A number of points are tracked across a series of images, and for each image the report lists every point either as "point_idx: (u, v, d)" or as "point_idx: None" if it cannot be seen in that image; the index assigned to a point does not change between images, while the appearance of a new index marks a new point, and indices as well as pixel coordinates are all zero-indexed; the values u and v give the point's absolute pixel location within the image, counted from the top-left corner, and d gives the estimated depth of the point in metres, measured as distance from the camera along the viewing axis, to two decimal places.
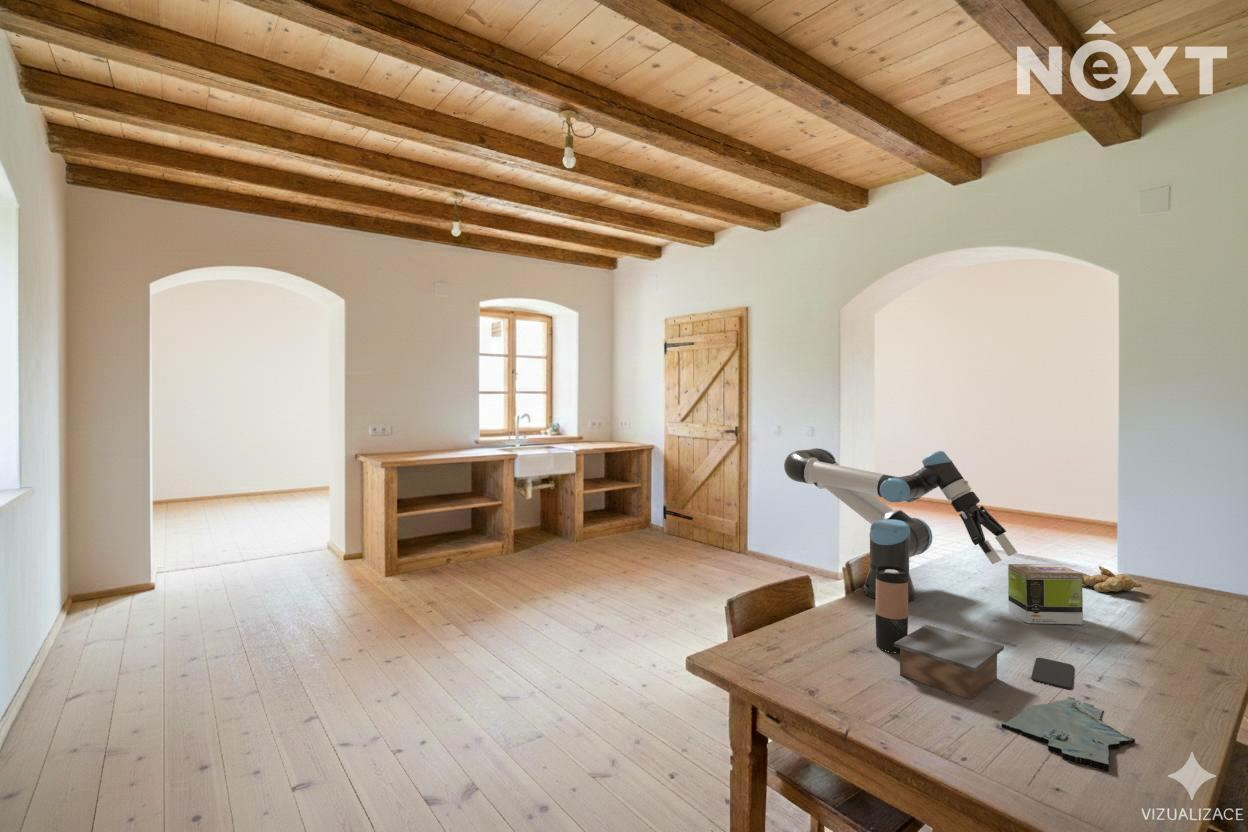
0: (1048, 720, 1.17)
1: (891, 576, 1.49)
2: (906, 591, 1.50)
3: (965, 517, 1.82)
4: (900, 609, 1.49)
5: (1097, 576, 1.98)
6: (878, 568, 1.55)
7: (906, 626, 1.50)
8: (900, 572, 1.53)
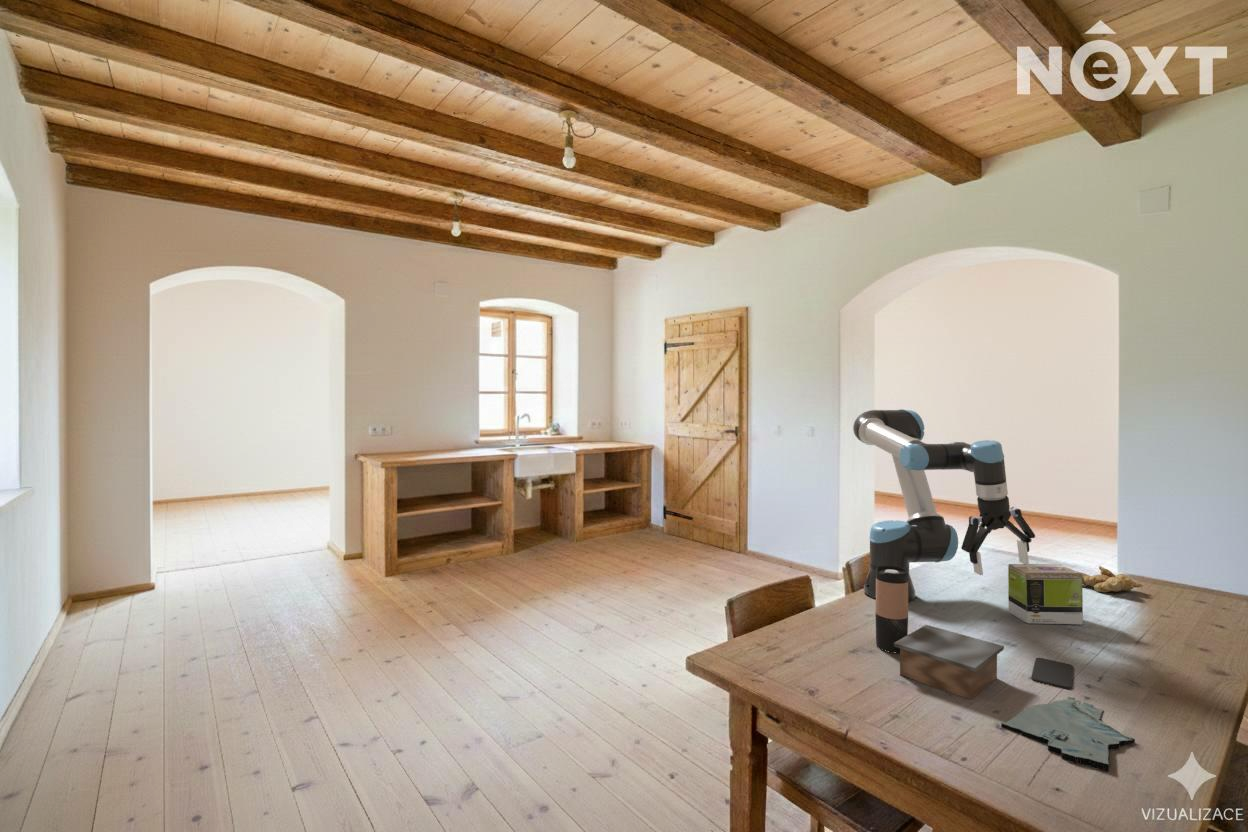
0: (1048, 720, 1.17)
1: (891, 576, 1.49)
2: (906, 591, 1.50)
3: (971, 523, 1.68)
4: (900, 609, 1.49)
5: (1097, 576, 1.98)
6: (878, 568, 1.55)
7: (906, 626, 1.50)
8: (900, 572, 1.53)
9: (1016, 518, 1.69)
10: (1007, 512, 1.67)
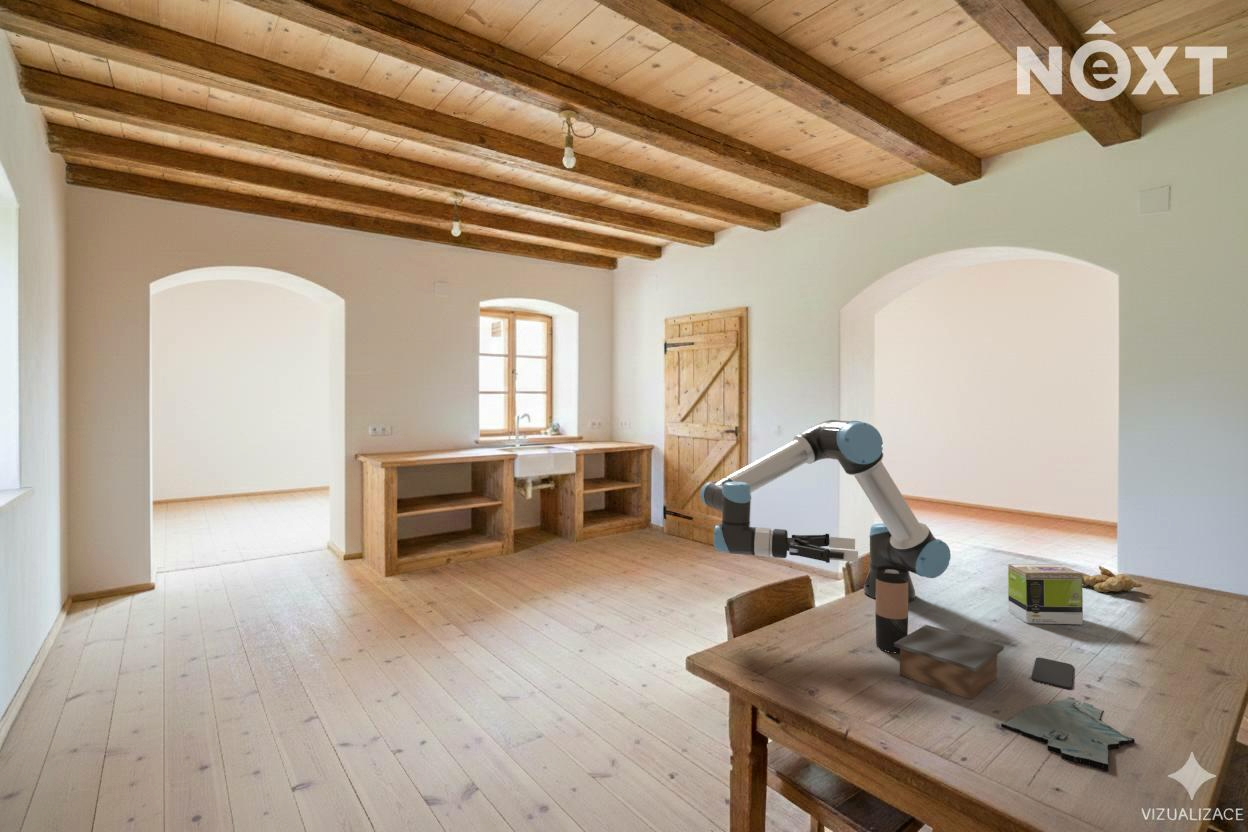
0: (1048, 720, 1.17)
1: (891, 576, 1.49)
2: (906, 591, 1.50)
3: None
4: (900, 609, 1.49)
5: (1097, 576, 1.98)
6: (878, 568, 1.55)
7: (906, 626, 1.50)
8: (900, 572, 1.53)
9: None
10: None
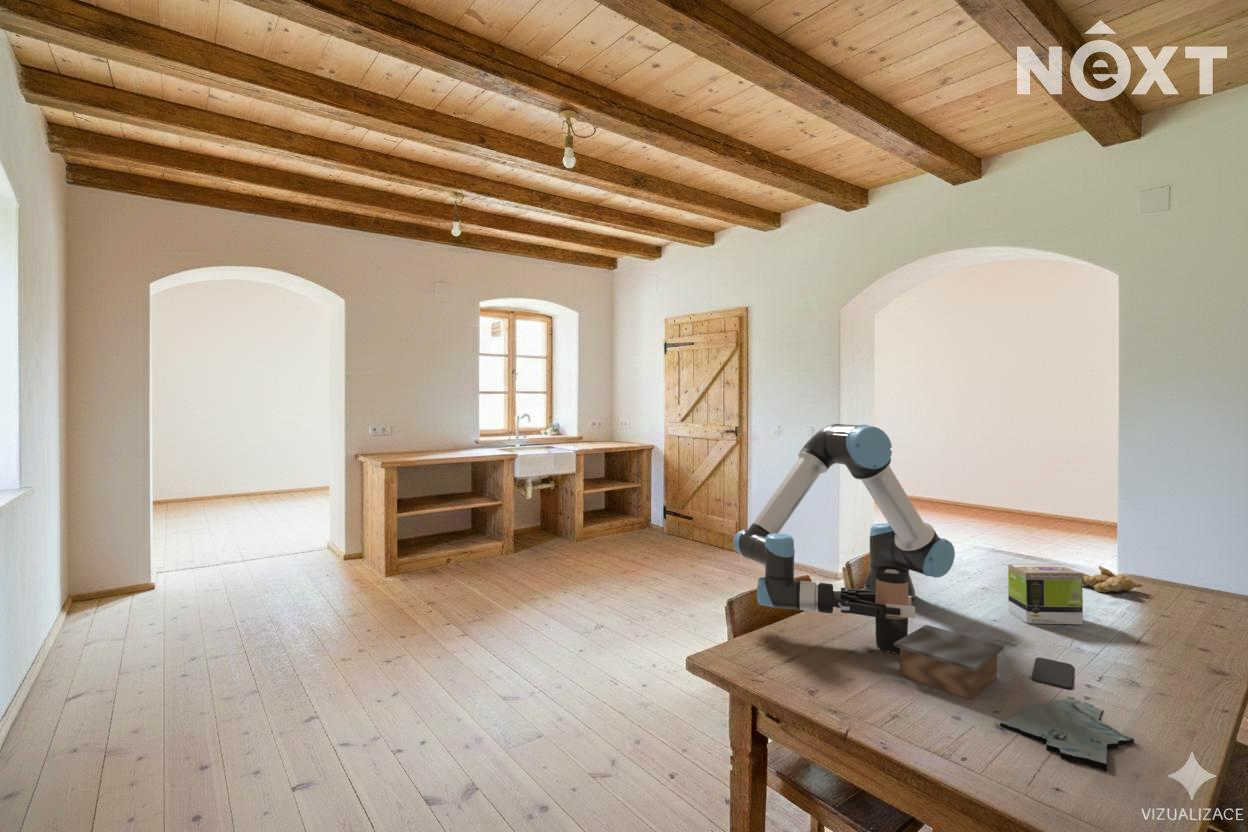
0: (1047, 720, 1.17)
1: (891, 576, 1.49)
2: (906, 591, 1.50)
3: None
4: None
5: (1097, 576, 1.98)
6: (878, 568, 1.55)
7: (906, 626, 1.50)
8: (900, 572, 1.53)
9: None
10: None
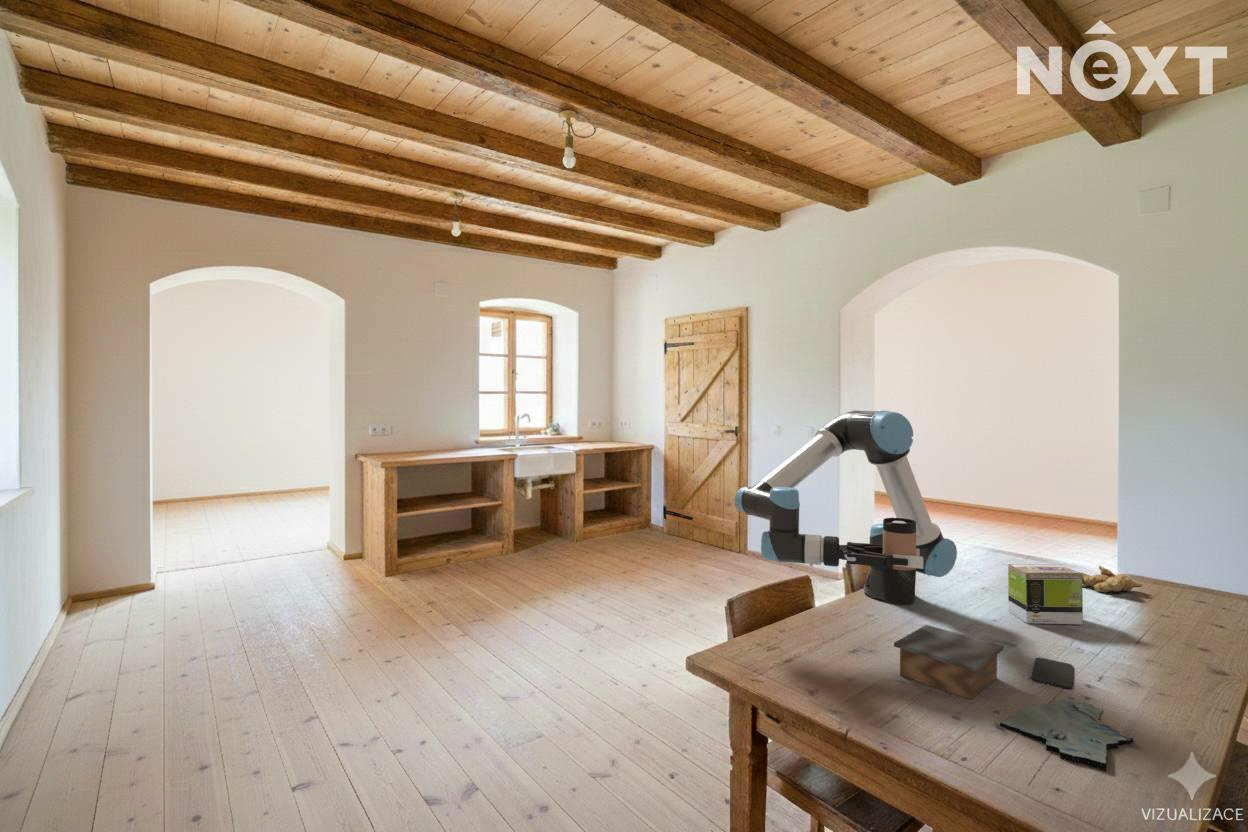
0: (1047, 720, 1.17)
1: (898, 526, 1.46)
2: (914, 542, 1.46)
3: None
4: None
5: (1097, 576, 1.98)
6: (885, 520, 1.52)
7: (914, 578, 1.47)
8: (908, 523, 1.50)
9: None
10: None
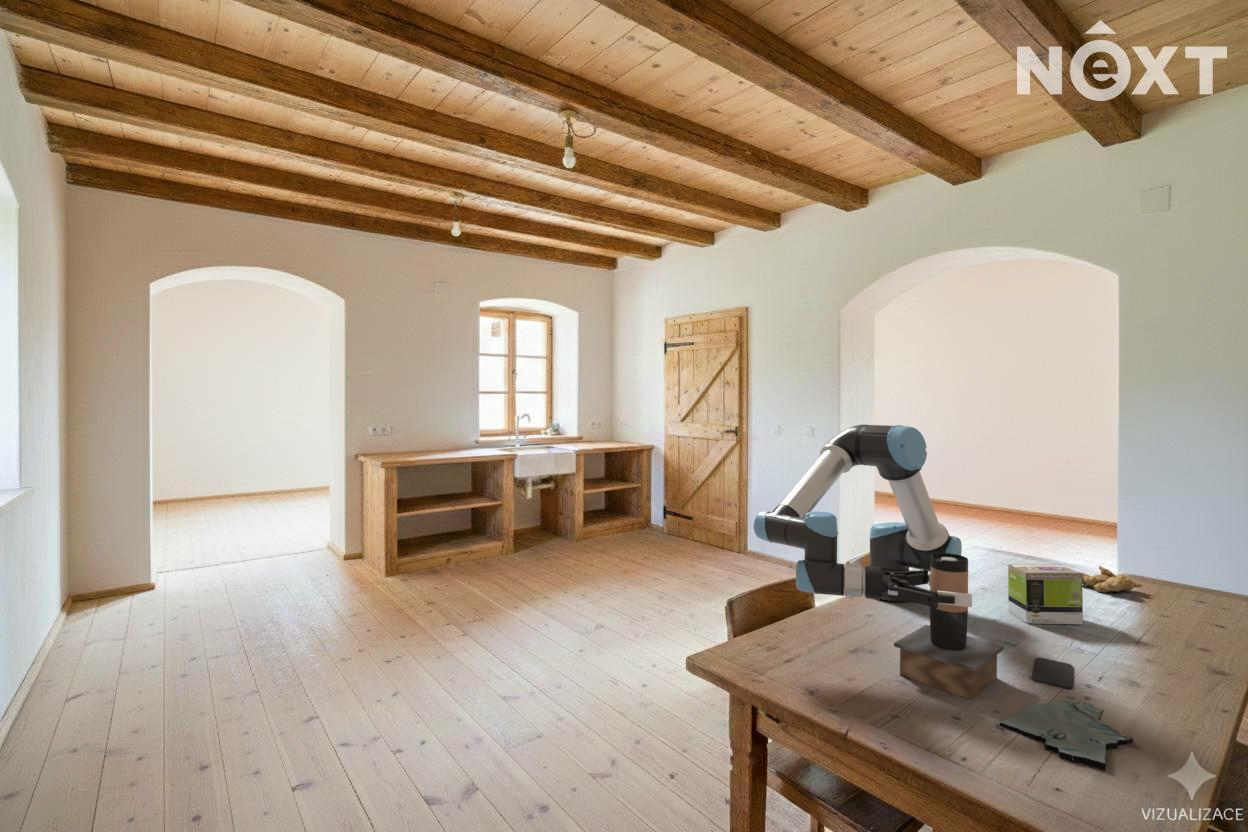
0: (1046, 720, 1.17)
1: (950, 564, 1.33)
2: (966, 581, 1.34)
3: None
4: None
5: (1097, 576, 1.98)
6: (933, 555, 1.39)
7: (966, 620, 1.34)
8: (958, 560, 1.37)
9: None
10: None
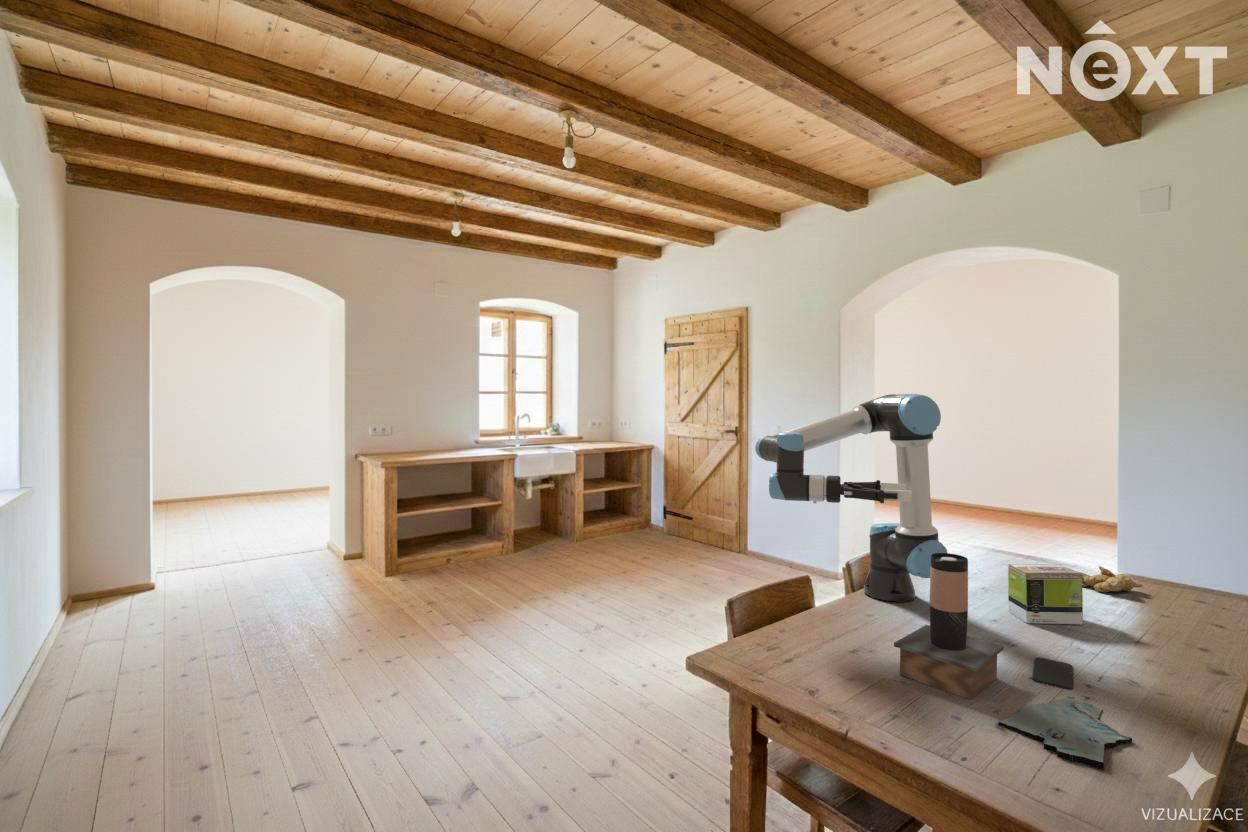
0: (1045, 719, 1.18)
1: (949, 564, 1.33)
2: (966, 581, 1.34)
3: None
4: (960, 600, 1.33)
5: (1097, 576, 1.98)
6: (932, 555, 1.39)
7: (966, 620, 1.34)
8: (958, 560, 1.37)
9: None
10: None
